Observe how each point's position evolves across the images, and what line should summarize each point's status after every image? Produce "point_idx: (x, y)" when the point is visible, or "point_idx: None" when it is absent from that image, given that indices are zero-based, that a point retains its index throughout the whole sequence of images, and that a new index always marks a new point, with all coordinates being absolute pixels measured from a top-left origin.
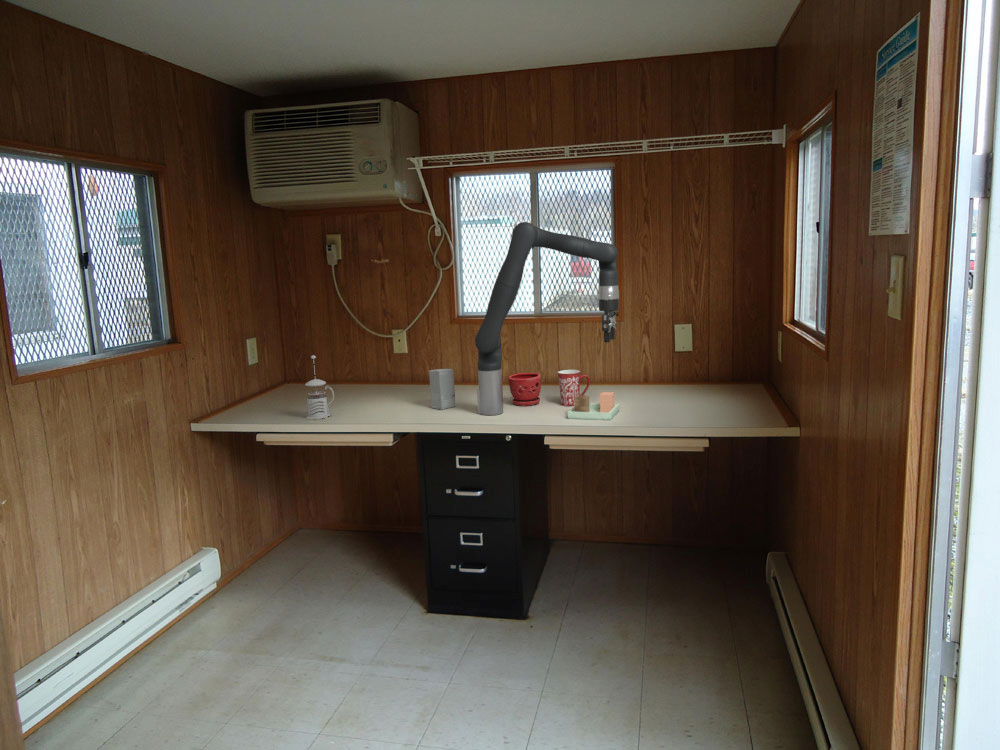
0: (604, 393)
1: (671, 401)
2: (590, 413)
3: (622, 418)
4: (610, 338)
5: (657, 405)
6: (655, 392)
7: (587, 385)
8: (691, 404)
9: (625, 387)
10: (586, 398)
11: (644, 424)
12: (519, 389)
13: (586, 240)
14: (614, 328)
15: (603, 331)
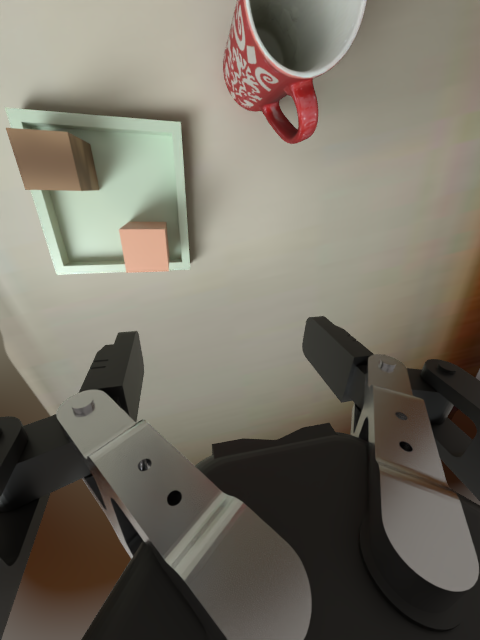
0: (142, 242)
1: (299, 348)
2: (37, 207)
3: (101, 292)
4: (308, 328)
5: (260, 333)
6: (390, 299)
7: (287, 135)
8: (273, 385)
9: (463, 216)
10: (31, 189)
11: (58, 353)
12: None
13: None
14: (352, 410)
15: (63, 405)
